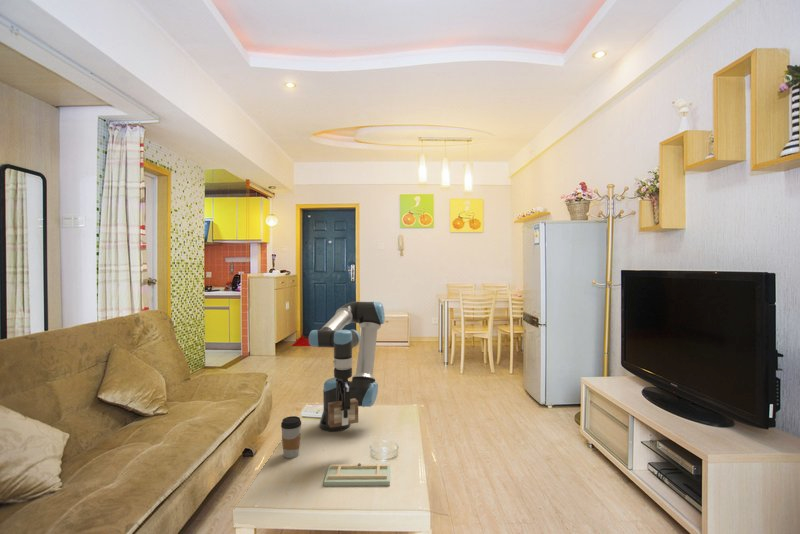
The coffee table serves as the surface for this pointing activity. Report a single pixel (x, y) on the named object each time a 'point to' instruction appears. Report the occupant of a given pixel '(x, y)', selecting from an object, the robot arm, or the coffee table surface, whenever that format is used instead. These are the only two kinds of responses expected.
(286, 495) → the coffee table surface
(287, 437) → the coffee cup
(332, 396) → the robot arm
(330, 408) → the brown wooden picture frame
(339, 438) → the coffee table surface
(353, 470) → the mint cabinet door
